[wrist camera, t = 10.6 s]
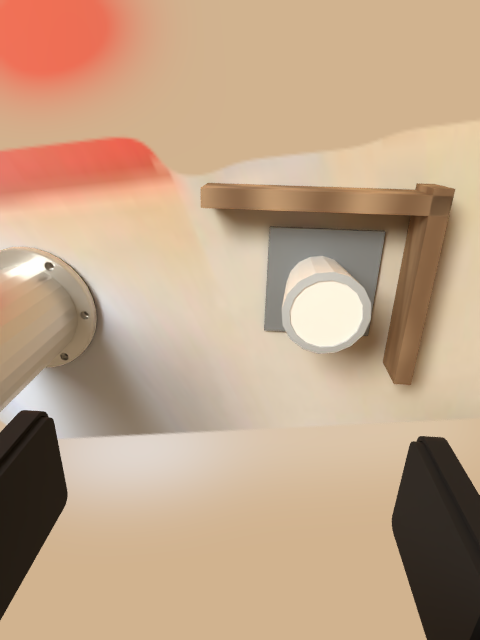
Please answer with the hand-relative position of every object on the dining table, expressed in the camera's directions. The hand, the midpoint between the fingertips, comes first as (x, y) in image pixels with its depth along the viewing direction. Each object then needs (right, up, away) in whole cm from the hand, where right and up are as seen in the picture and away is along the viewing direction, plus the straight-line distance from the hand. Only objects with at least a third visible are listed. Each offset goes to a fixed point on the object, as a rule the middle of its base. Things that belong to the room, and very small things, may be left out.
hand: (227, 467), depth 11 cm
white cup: (+7, +7, +27) cm, 29 cm away
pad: (+8, +7, +27) cm, 29 cm away
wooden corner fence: (+7, +7, +27) cm, 29 cm away
